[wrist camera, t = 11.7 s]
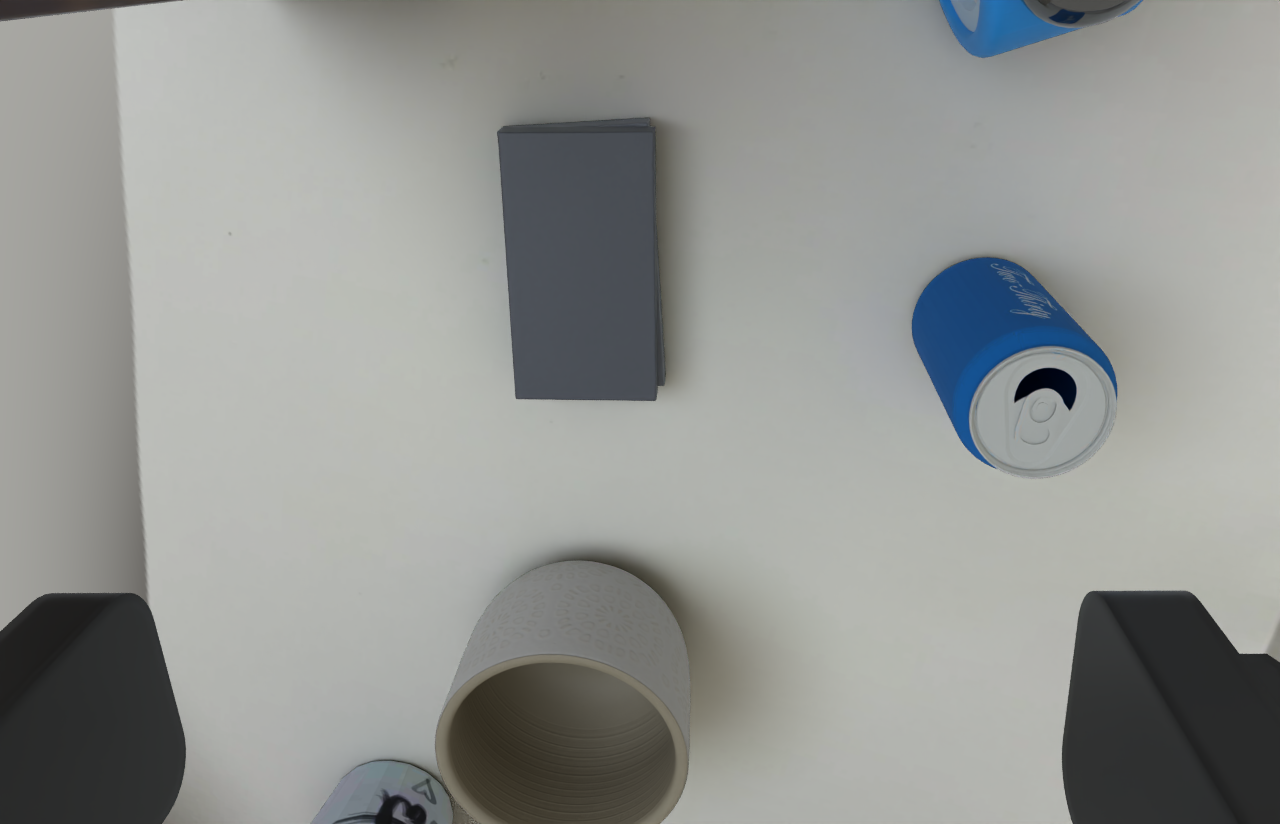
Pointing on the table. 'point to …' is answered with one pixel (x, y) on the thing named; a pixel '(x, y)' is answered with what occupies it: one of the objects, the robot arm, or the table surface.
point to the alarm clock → (1024, 20)
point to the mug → (387, 797)
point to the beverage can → (1014, 369)
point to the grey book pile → (583, 259)
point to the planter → (569, 703)
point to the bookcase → (62, 7)
